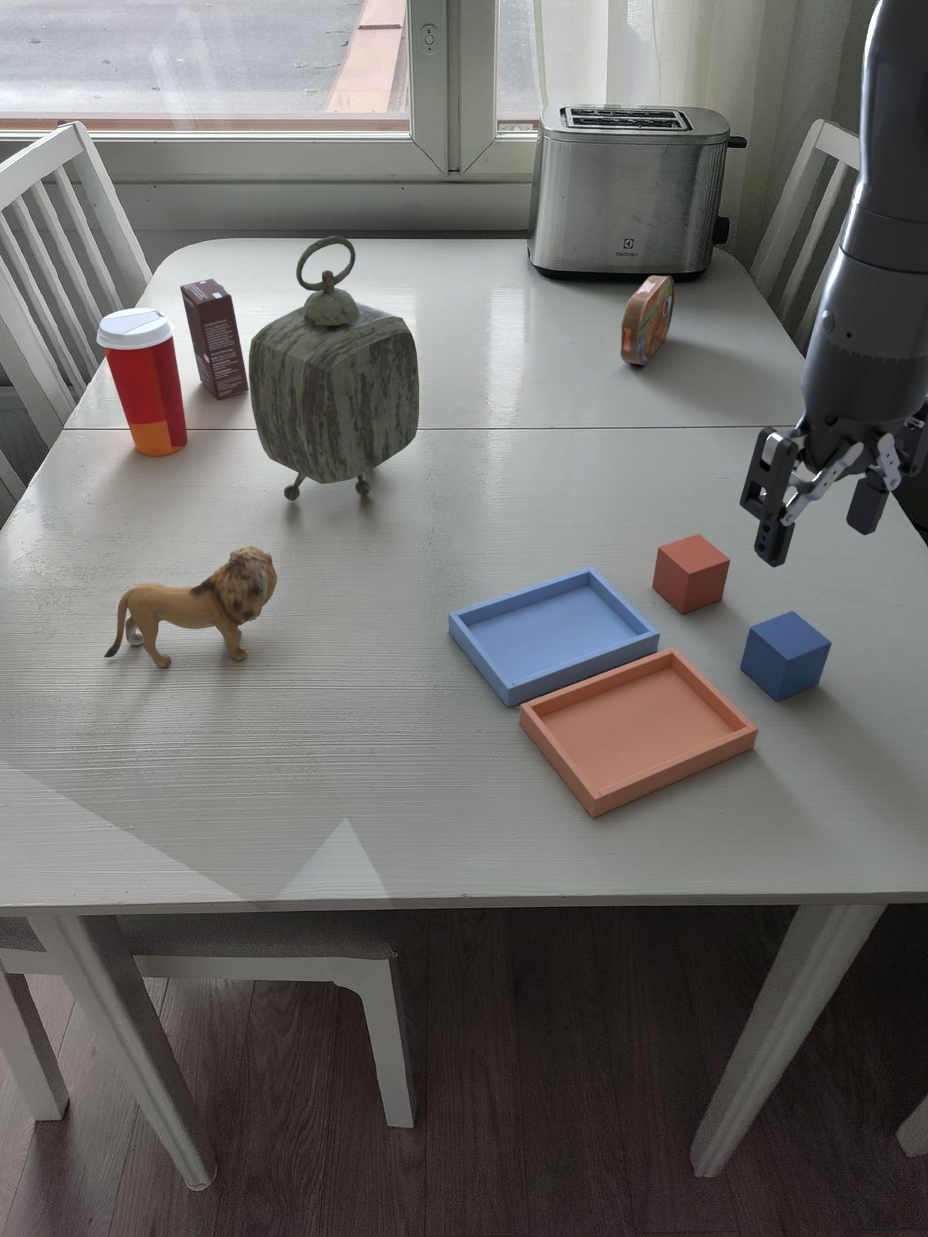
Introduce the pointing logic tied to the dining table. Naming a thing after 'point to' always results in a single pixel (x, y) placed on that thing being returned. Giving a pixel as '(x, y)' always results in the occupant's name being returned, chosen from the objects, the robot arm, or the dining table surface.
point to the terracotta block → (690, 573)
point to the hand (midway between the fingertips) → (815, 544)
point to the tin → (647, 319)
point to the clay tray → (635, 729)
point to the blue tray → (551, 635)
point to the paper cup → (146, 377)
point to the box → (215, 338)
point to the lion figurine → (200, 604)
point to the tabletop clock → (333, 384)
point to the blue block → (785, 655)
